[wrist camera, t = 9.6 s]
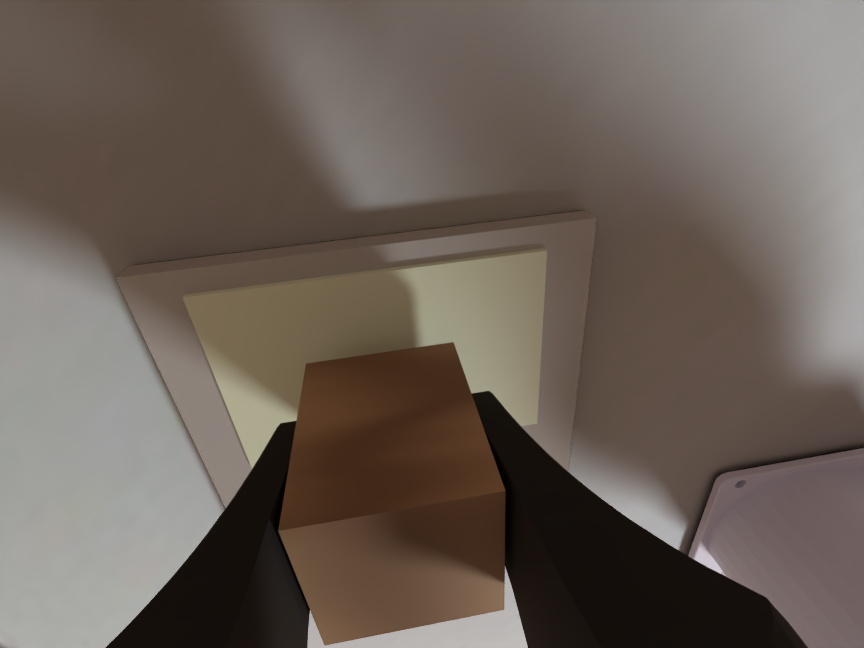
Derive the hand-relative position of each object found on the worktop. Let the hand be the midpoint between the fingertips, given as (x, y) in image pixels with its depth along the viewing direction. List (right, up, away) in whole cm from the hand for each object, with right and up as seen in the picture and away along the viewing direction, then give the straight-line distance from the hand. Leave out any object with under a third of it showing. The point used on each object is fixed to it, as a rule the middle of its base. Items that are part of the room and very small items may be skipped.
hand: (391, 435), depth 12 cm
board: (0, -1, +5) cm, 6 cm away
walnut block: (0, 0, +2) cm, 2 cm away
